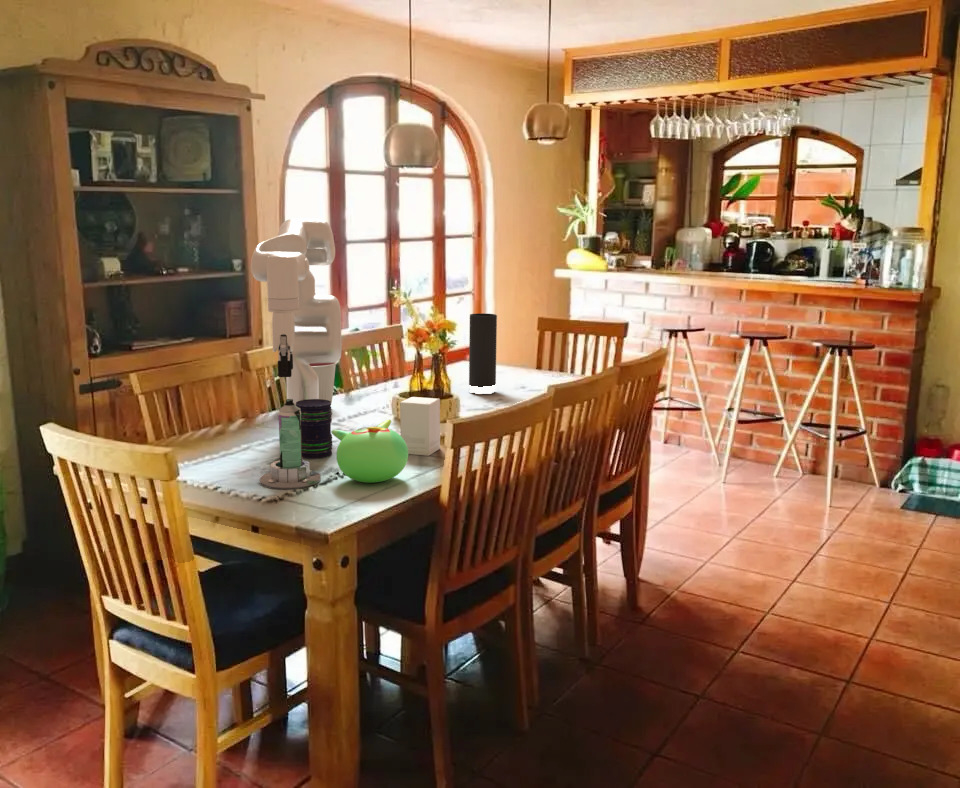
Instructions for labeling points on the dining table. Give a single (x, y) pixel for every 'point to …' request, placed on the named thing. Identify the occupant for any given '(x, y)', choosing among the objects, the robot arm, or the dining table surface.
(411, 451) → the supplement box
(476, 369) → the black tall cylinder
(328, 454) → the storage jar
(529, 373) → the dining table surface
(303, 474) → the collar
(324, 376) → the white bucket
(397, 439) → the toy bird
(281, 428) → the spray can
